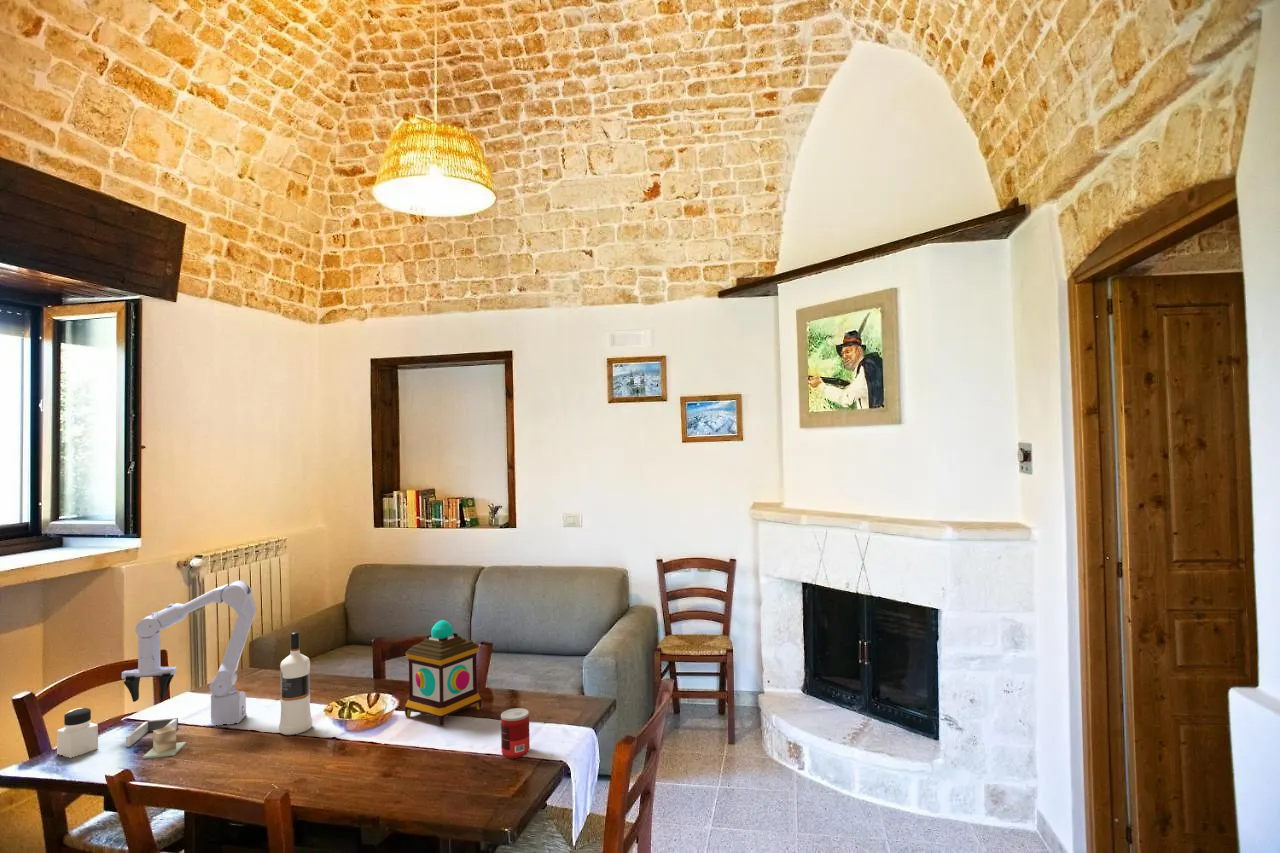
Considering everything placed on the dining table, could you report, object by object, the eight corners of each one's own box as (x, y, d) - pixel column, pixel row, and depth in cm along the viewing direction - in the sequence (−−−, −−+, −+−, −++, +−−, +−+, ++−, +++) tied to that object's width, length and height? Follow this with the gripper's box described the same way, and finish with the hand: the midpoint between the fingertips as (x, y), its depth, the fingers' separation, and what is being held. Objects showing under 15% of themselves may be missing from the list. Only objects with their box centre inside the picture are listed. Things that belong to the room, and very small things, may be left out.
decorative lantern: (488, 708, 230) (486, 616, 230) (441, 730, 213) (439, 631, 214) (445, 698, 240) (444, 610, 241) (398, 717, 224) (396, 623, 224)
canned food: (534, 748, 198) (533, 709, 199) (520, 760, 191) (520, 720, 191) (510, 745, 201) (510, 706, 201) (496, 757, 193) (495, 717, 194)
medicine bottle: (98, 748, 205) (98, 707, 206) (70, 758, 199) (70, 716, 199) (84, 744, 208) (84, 704, 209) (56, 754, 202) (56, 712, 202)
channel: (178, 727, 220) (177, 718, 220) (160, 743, 208) (160, 733, 208) (145, 730, 218) (145, 721, 218) (126, 746, 206) (126, 736, 206)
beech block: (171, 744, 206) (171, 725, 206) (176, 748, 203) (176, 729, 203) (153, 749, 202) (153, 730, 202) (158, 753, 199) (157, 734, 200)
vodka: (311, 732, 213) (310, 634, 214) (277, 738, 210) (276, 637, 210) (313, 722, 222) (311, 627, 222) (280, 727, 218) (279, 630, 219)
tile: (186, 743, 207) (186, 741, 207) (174, 755, 199) (174, 753, 199) (156, 746, 206) (156, 744, 206) (142, 758, 198) (142, 756, 198)
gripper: (180, 649, 223) (181, 692, 223) (129, 653, 220) (129, 697, 220) (170, 656, 216) (171, 700, 216) (117, 660, 213) (118, 705, 213)
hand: (149, 699), depth 217 cm, fingers open, 7 cm apart
